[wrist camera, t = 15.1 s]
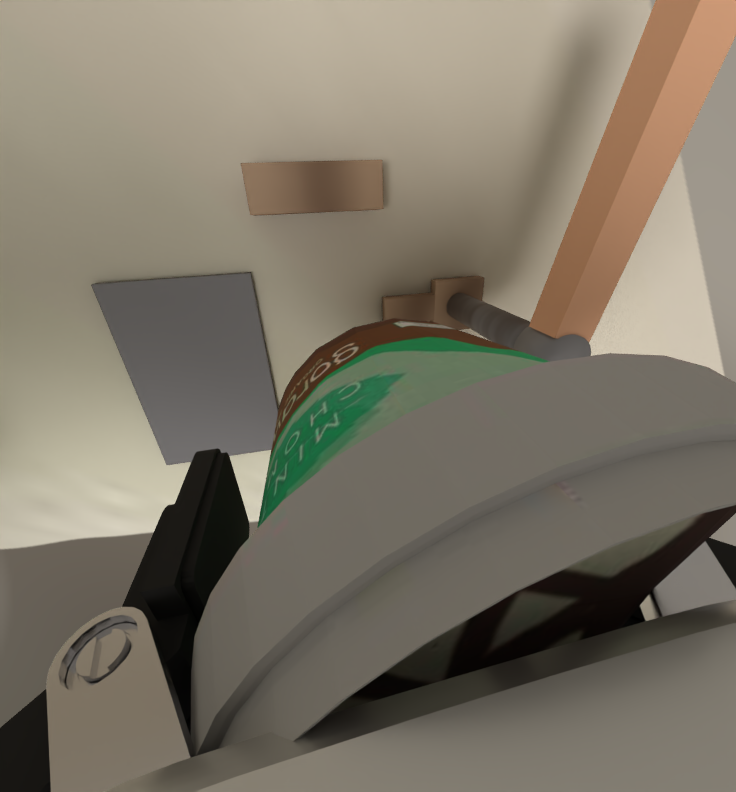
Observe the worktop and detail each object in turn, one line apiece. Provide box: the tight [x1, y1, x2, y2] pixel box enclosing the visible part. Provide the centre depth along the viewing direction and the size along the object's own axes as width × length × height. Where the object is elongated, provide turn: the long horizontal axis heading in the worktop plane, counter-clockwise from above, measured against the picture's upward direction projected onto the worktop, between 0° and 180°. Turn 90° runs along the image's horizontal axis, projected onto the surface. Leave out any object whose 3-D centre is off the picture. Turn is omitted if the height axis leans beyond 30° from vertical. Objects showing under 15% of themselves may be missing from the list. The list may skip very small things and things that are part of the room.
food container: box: [191, 318, 736, 756], centre depth 9 cm, size 12×6×10 cm, turn 151°
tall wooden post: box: [513, 0, 736, 362], centre depth 14 cm, size 16×3×2 cm, turn 170°
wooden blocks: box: [241, 160, 530, 349], centre depth 22 cm, size 16×19×10 cm
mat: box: [91, 272, 278, 465], centre depth 26 cm, size 10×15×1 cm, turn 2°
